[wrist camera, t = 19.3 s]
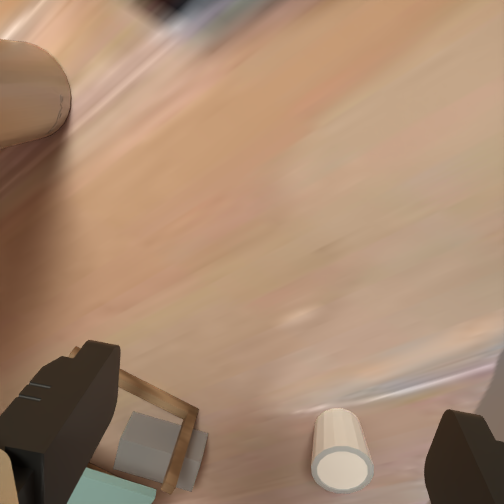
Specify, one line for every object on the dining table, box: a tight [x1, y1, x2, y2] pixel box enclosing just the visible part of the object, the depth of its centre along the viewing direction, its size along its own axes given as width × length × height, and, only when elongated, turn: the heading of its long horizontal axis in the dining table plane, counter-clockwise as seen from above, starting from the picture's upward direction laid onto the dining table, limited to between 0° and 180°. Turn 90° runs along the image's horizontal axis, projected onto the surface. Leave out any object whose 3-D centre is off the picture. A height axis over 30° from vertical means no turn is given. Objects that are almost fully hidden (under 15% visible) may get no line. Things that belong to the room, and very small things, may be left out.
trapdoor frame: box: [69, 347, 199, 495], centre depth 54 cm, size 17×18×17 cm
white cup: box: [311, 408, 374, 494], centre depth 55 cm, size 7×7×7 cm
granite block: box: [113, 411, 208, 492], centre depth 59 cm, size 5×5×10 cm
